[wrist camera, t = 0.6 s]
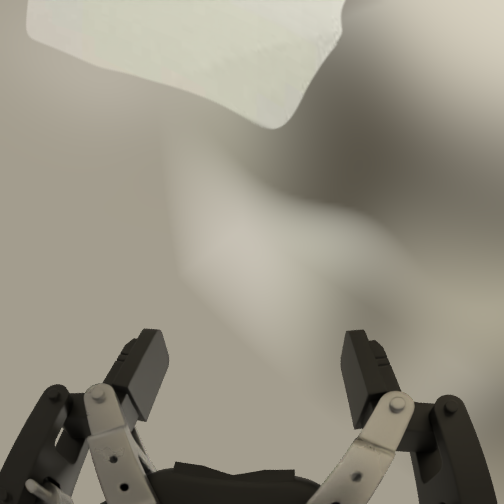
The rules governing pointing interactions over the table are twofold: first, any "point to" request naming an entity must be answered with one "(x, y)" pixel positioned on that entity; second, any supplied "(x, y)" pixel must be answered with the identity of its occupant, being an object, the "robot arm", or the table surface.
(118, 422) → the robot arm
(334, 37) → the table surface
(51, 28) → the table surface
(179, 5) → the table surface
